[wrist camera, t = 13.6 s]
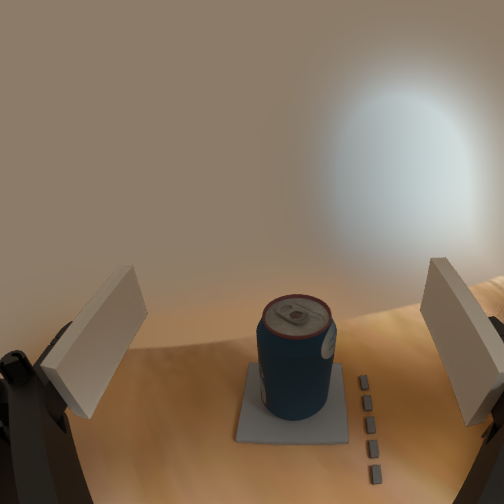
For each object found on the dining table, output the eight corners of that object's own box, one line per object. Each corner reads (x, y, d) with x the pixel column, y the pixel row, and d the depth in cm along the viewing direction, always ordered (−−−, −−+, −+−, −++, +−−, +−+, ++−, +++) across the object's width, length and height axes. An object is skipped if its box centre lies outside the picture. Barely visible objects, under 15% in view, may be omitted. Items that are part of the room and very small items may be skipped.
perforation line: (366, 377, 34) (366, 375, 34) (381, 483, 22) (382, 482, 21) (359, 377, 34) (360, 375, 34) (372, 484, 22) (373, 483, 21)
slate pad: (340, 365, 36) (341, 363, 36) (348, 443, 26) (348, 441, 26) (249, 365, 37) (249, 362, 37) (236, 441, 28) (235, 439, 28)
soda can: (339, 398, 31) (355, 311, 26) (294, 438, 27) (298, 355, 22) (293, 367, 36) (295, 281, 31) (248, 399, 32) (237, 313, 27)
